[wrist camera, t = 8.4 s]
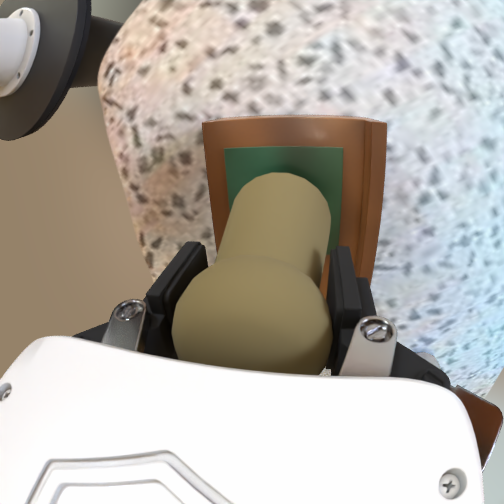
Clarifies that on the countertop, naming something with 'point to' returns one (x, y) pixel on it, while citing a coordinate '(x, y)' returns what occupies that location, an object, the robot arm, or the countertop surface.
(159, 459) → the robot arm
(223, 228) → the wooden shelf
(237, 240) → the cork
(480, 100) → the countertop surface
